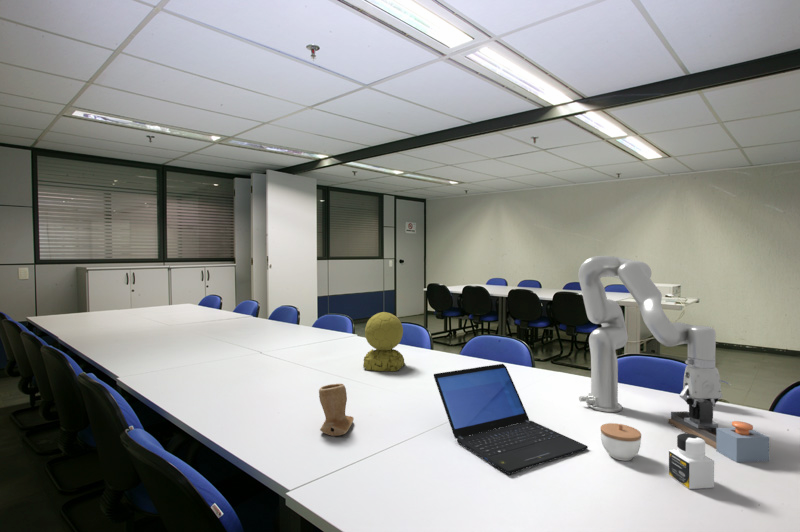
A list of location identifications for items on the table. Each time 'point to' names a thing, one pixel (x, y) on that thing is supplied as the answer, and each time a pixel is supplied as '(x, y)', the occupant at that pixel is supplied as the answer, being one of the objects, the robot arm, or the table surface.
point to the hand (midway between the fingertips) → (700, 416)
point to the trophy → (383, 343)
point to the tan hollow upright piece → (334, 409)
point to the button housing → (742, 445)
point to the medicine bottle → (691, 463)
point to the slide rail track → (692, 428)
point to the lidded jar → (620, 441)
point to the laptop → (498, 420)
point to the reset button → (742, 427)
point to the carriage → (703, 416)
